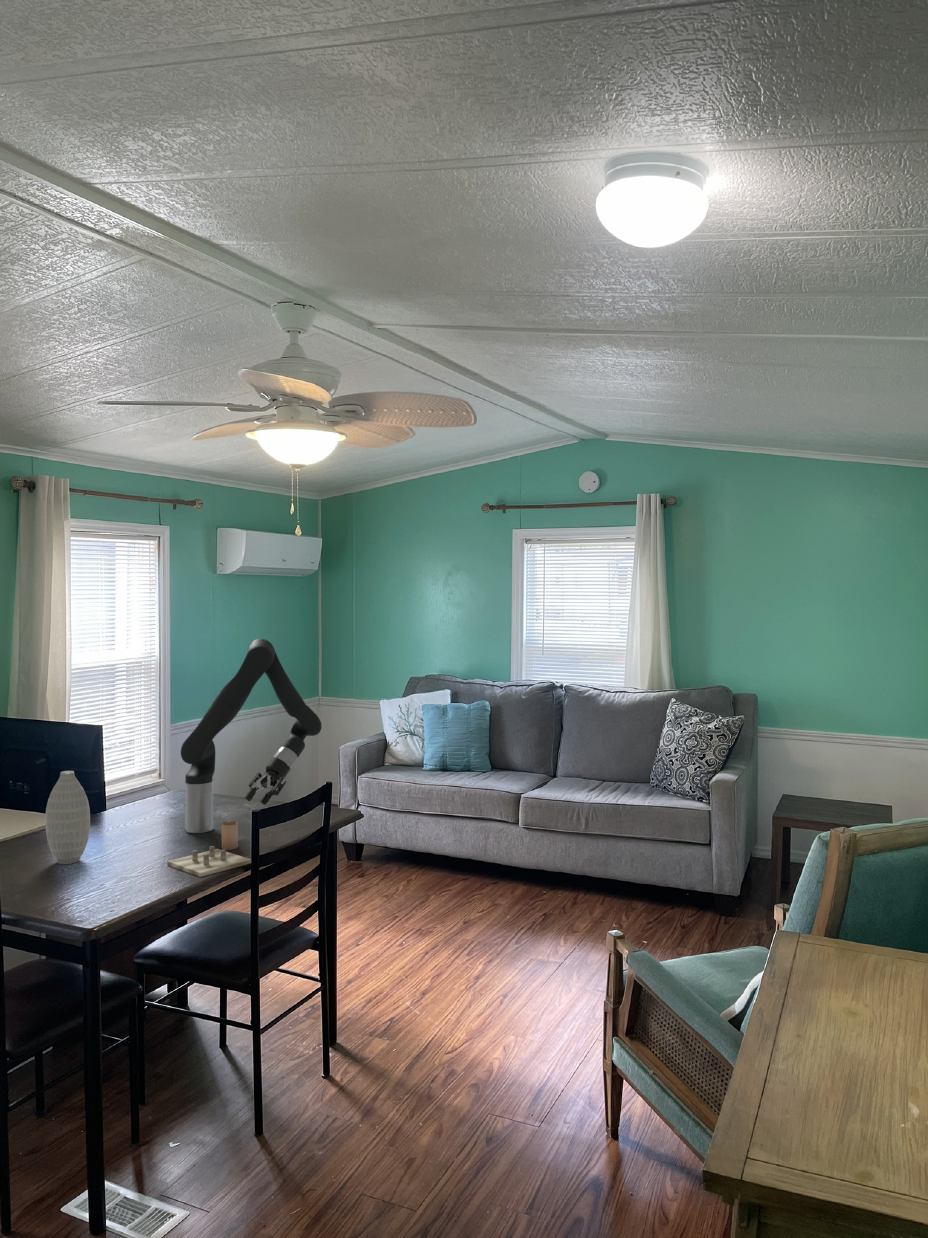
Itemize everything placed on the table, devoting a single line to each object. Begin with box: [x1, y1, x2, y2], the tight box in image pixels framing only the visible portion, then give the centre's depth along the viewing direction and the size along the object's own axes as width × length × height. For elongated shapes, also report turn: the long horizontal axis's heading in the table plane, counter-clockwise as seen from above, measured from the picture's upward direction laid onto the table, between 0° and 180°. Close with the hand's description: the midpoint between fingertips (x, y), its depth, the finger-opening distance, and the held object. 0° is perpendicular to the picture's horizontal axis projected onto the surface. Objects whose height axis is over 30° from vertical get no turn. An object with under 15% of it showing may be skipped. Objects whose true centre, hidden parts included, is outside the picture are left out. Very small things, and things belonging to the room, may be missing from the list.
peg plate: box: [166, 845, 252, 878], centre depth 280 cm, size 18×18×4 cm
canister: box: [220, 818, 239, 851], centre depth 298 cm, size 5×5×9 cm
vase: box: [45, 770, 91, 865], centre depth 283 cm, size 13×13×28 cm
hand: (254, 801), depth 306 cm, fingers open, 8 cm apart
